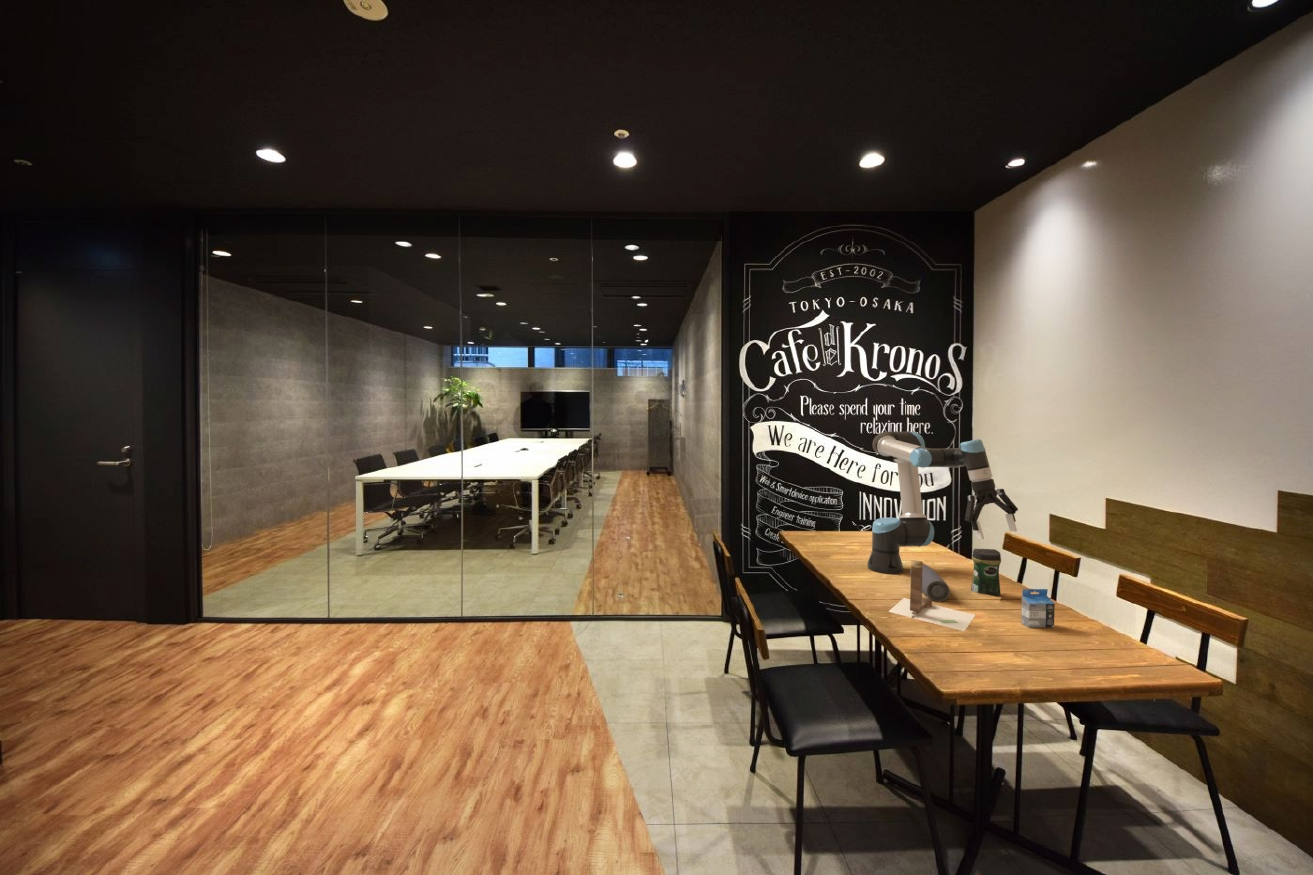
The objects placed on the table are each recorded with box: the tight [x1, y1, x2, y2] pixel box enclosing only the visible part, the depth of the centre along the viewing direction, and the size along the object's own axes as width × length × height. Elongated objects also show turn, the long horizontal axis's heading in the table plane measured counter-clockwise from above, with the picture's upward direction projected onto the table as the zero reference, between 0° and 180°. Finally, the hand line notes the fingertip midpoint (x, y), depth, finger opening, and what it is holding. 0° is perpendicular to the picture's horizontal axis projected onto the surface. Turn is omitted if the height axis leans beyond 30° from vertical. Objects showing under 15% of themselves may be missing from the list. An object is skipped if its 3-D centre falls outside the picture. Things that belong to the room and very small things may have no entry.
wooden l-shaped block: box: [909, 559, 933, 615], centre depth 186 cm, size 16×5×19 cm, turn 138°
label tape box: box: [1020, 588, 1056, 628], centre depth 177 cm, size 9×4×12 cm, turn 89°
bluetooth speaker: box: [909, 563, 951, 602], centre depth 206 cm, size 23×9×10 cm, turn 168°
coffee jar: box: [970, 548, 1002, 598], centre depth 206 cm, size 10×8×19 cm
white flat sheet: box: [888, 597, 976, 632], centre depth 184 cm, size 24×18×2 cm
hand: (997, 535), depth 194 cm, fingers open, 13 cm apart
